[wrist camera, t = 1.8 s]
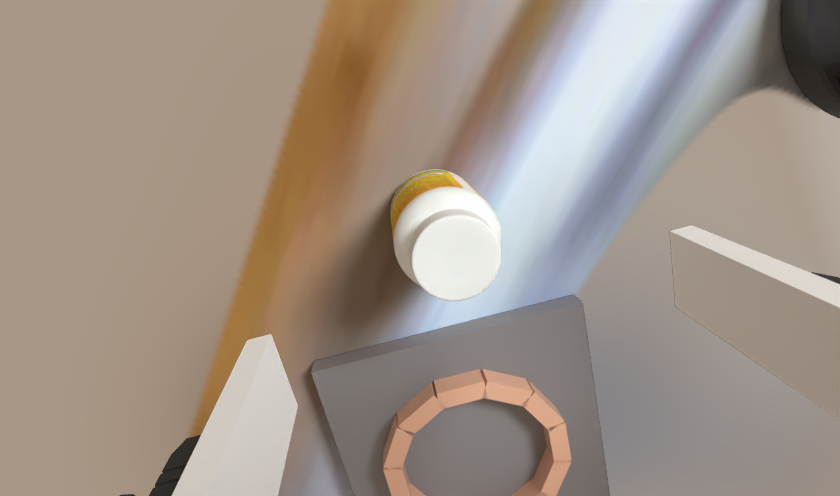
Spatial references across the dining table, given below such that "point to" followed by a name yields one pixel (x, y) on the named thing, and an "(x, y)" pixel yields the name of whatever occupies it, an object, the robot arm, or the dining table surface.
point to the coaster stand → (471, 408)
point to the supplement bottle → (445, 235)
